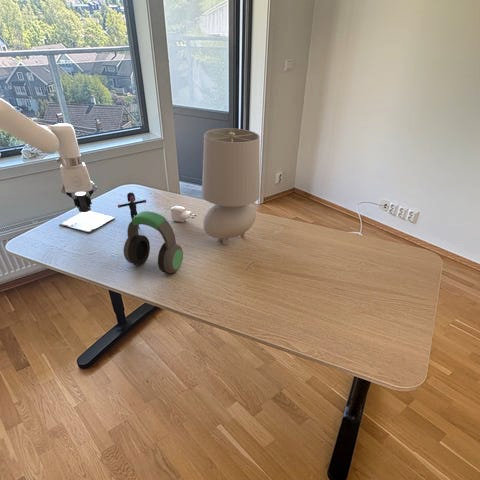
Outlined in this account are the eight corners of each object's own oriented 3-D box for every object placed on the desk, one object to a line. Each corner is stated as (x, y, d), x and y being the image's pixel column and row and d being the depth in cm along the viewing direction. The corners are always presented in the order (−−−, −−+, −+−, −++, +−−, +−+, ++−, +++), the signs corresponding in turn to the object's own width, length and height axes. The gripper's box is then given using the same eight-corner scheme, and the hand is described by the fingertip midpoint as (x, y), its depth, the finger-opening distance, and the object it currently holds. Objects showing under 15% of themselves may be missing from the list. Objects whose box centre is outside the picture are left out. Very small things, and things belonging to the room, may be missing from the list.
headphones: (185, 265, 127) (182, 213, 114) (171, 280, 119) (165, 227, 106) (141, 254, 131) (132, 203, 118) (124, 268, 124) (113, 215, 110)
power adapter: (198, 221, 154) (197, 209, 150) (193, 226, 151) (192, 213, 147) (175, 217, 157) (174, 204, 153) (170, 221, 153) (169, 208, 149)
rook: (79, 213, 144) (74, 196, 139) (78, 208, 147) (74, 192, 142) (91, 211, 145) (87, 195, 140) (90, 207, 148) (86, 190, 144)
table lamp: (239, 223, 154) (244, 123, 128) (268, 244, 141) (279, 137, 114) (193, 235, 144) (188, 128, 118) (219, 259, 131) (219, 145, 105)
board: (89, 233, 142) (88, 232, 141) (59, 225, 146) (59, 223, 146) (114, 218, 153) (114, 217, 152) (86, 211, 157) (86, 209, 157)
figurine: (124, 232, 144) (117, 197, 134) (121, 228, 146) (113, 193, 136) (151, 226, 149) (146, 191, 139) (148, 222, 151) (143, 188, 141)
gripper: (47, 165, 128) (62, 212, 140) (95, 162, 133) (105, 207, 145) (48, 159, 133) (62, 205, 145) (93, 156, 138) (104, 200, 150)
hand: (83, 206), depth 145 cm, fingers closed on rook, 3 cm apart
